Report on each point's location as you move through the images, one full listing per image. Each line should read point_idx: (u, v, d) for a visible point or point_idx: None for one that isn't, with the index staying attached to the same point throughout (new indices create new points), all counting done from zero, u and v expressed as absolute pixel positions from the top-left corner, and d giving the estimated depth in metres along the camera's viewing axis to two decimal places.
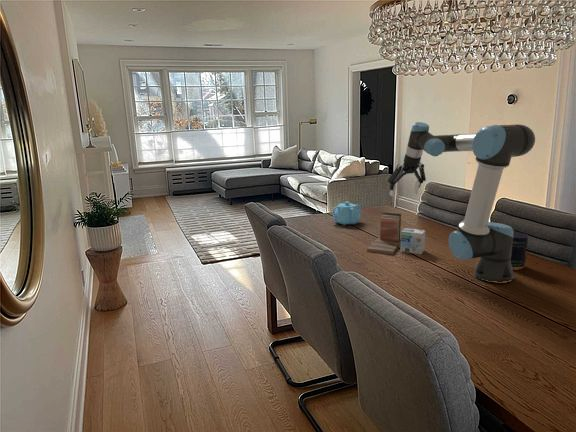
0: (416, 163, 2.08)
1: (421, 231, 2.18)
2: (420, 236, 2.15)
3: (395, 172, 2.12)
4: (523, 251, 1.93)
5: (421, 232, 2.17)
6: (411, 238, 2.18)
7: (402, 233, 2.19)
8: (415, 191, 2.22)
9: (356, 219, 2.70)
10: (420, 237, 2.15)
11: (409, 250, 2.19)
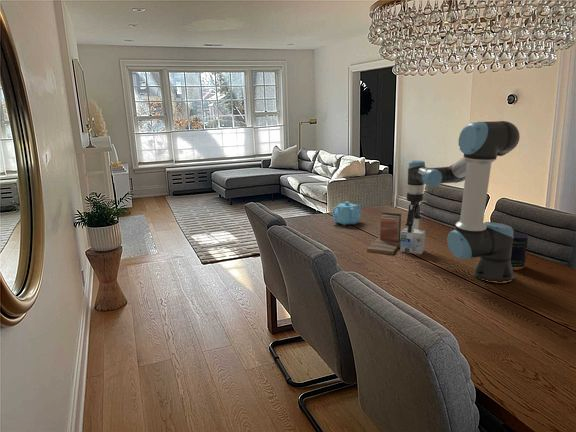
0: (422, 198, 2.14)
1: (421, 231, 2.18)
2: (420, 236, 2.15)
3: (411, 213, 2.10)
4: (523, 251, 1.93)
5: (421, 232, 2.17)
6: None
7: (402, 233, 2.19)
8: None
9: (356, 219, 2.70)
10: (420, 237, 2.15)
11: (409, 250, 2.19)
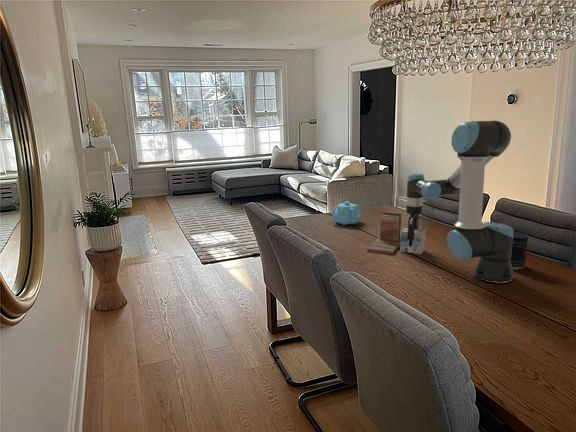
0: (421, 211, 2.16)
1: (421, 231, 2.18)
2: (420, 236, 2.15)
3: (411, 228, 2.13)
4: (523, 251, 1.93)
5: (421, 232, 2.17)
6: None
7: (402, 233, 2.19)
8: None
9: (356, 219, 2.70)
10: (420, 237, 2.15)
11: None
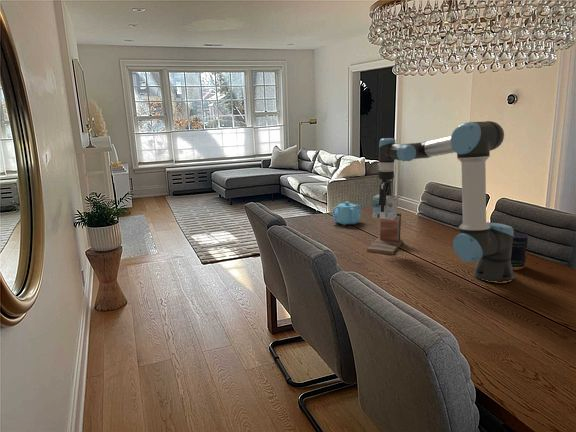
0: (393, 176, 2.15)
1: (393, 197, 2.18)
2: (392, 201, 2.15)
3: (382, 193, 2.13)
4: (523, 251, 1.93)
5: (393, 197, 2.16)
6: None
7: (374, 199, 2.19)
8: None
9: (356, 219, 2.70)
10: (392, 202, 2.15)
11: None
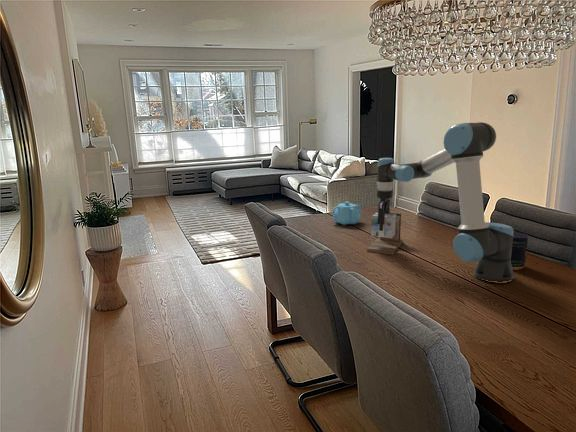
0: None
1: (392, 215, 2.20)
2: (390, 220, 2.17)
3: (381, 212, 2.15)
4: (523, 251, 1.93)
5: (391, 216, 2.19)
6: None
7: (373, 217, 2.21)
8: None
9: (356, 219, 2.70)
10: (390, 221, 2.17)
11: None
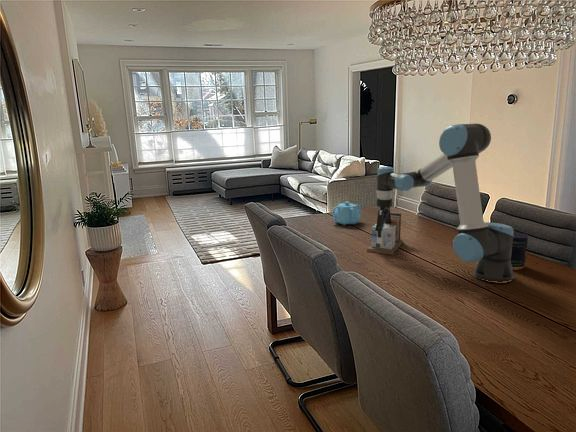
0: (391, 204, 2.18)
1: (391, 226, 2.22)
2: (390, 231, 2.19)
3: (380, 218, 2.15)
4: (523, 251, 1.93)
5: (391, 227, 2.20)
6: None
7: (373, 228, 2.22)
8: None
9: (356, 219, 2.70)
10: (390, 232, 2.19)
11: (380, 245, 2.23)
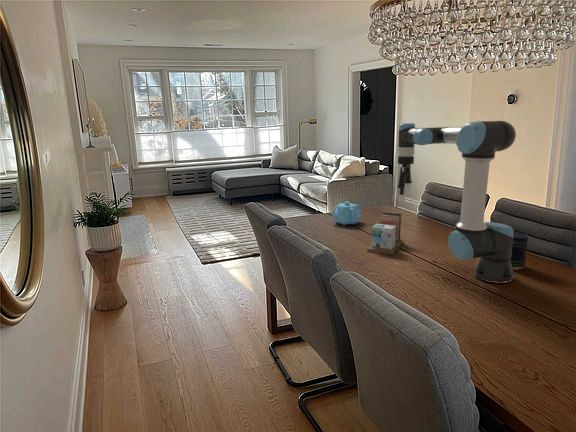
0: (413, 161, 2.15)
1: (391, 226, 2.22)
2: (390, 231, 2.19)
3: (402, 175, 2.11)
4: (523, 251, 1.93)
5: (391, 227, 2.20)
6: (381, 233, 2.21)
7: (373, 228, 2.22)
8: (407, 193, 2.26)
9: (356, 219, 2.70)
10: (390, 232, 2.19)
11: (380, 245, 2.23)
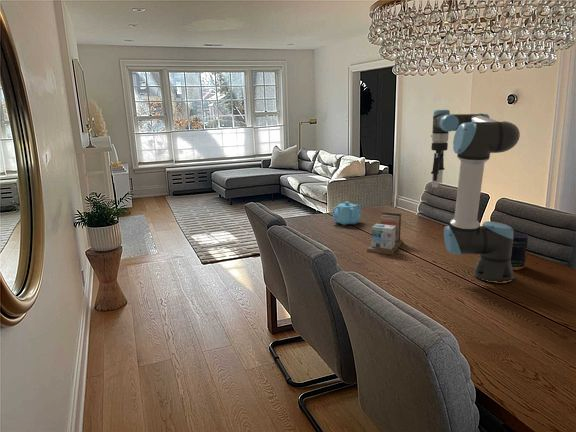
0: (447, 147, 2.17)
1: (391, 226, 2.22)
2: (390, 231, 2.19)
3: (436, 161, 2.13)
4: (523, 251, 1.93)
5: (391, 227, 2.20)
6: (381, 233, 2.21)
7: (373, 228, 2.22)
8: (440, 180, 2.28)
9: (356, 219, 2.70)
10: (390, 232, 2.19)
11: (380, 245, 2.23)
